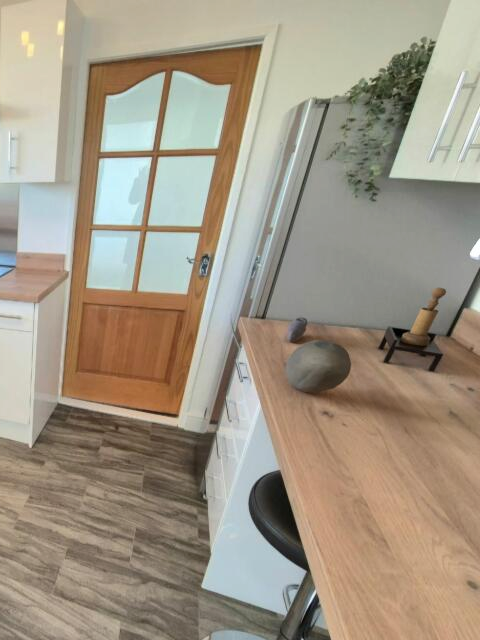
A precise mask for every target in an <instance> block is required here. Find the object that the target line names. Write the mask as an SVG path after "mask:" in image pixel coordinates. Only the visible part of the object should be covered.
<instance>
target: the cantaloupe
mask: <svg viewBox="0 0 480 640" xmlns="http://www.w3.org/2000/svg"><path fill="white" fill-rule="evenodd" d="M351 369H352V362H351V358H350V354H349V352H348V351H347V349H346V348H345V347H343V345H340V344H338V343H335V342H334V341H333V342H332V341H329V340H319V339H318V340H317V339H316V340H311V341H307V342H304V343H303V344H301V345H298V347H296V348H295V349H294V350H293V351H292V353H291V354H290V355H289V357H288V358H287V360H286V363H285V375H286V379H287V381H288V382H289V384H290V385H291V386H292V387H293V388H294V389H296V390H298V391H300V392H304V393H309V394H312V393H313V394H318V393H322V392H328V391H331V390H333V389H335V388H337V387H338V386H340V385H341V384H342V383H344V382H345V380H346V379H347V378H348V377H349V375H350V372H351Z"/></svg>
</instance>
